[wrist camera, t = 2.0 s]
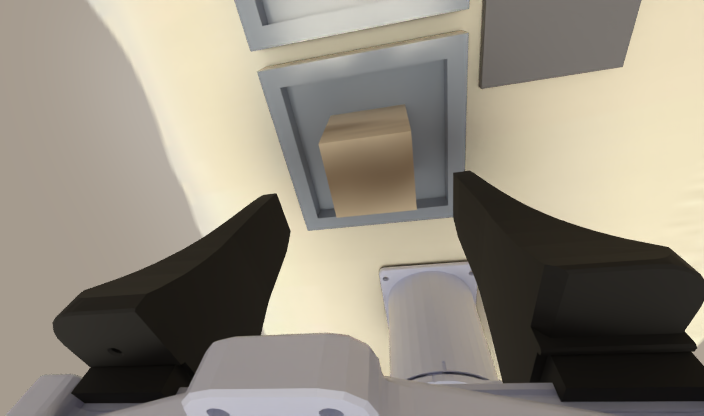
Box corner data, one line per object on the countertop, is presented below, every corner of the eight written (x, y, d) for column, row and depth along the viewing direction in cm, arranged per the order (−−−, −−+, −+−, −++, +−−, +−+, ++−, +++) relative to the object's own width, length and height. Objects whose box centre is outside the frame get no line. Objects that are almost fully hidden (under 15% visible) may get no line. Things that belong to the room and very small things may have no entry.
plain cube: (410, 172, 21) (416, 209, 17) (344, 179, 21) (336, 217, 18) (404, 104, 18) (411, 131, 14) (330, 115, 19) (318, 143, 15)
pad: (615, 64, 17) (622, 66, 16) (478, 86, 18) (481, 88, 17) (664, -117, 13) (675, -122, 12) (486, -75, 14) (490, -78, 13)
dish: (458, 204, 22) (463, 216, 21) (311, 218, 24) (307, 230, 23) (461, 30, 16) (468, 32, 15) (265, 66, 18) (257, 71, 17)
